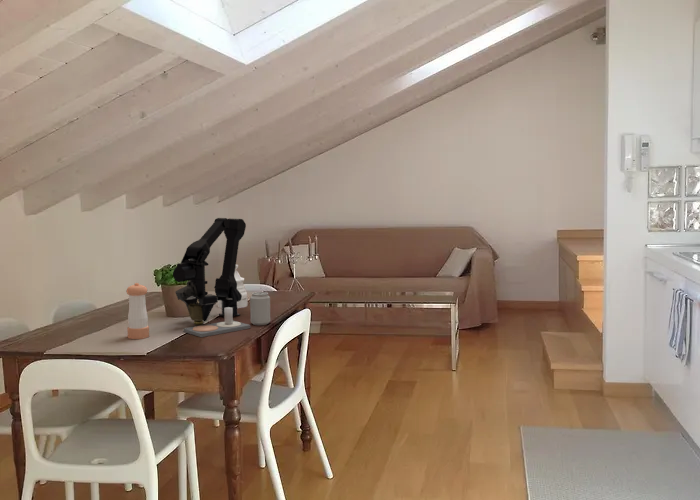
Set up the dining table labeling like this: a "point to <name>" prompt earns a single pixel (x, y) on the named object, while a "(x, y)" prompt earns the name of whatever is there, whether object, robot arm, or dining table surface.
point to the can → (260, 308)
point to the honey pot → (241, 289)
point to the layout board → (218, 326)
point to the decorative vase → (196, 313)
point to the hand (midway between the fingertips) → (198, 319)
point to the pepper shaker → (137, 312)
